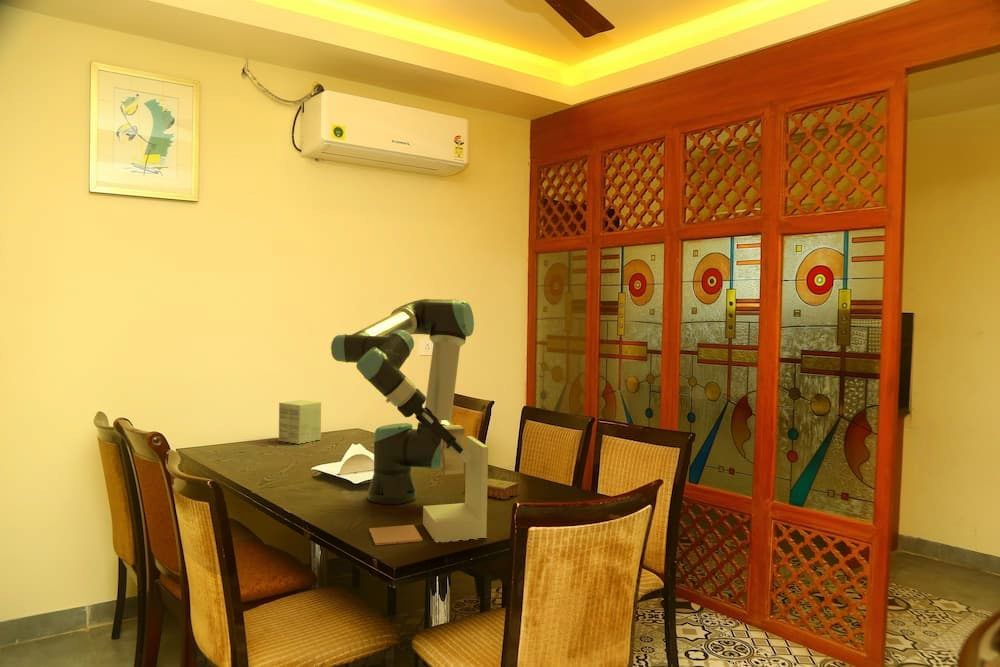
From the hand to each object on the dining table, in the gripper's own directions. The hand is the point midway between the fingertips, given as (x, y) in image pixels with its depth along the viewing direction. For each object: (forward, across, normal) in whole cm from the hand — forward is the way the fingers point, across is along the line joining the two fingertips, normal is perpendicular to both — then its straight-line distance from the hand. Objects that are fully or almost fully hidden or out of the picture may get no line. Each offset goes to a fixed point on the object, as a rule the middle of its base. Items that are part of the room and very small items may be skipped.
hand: (465, 456), depth 180 cm
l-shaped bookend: (+12, 0, -16) cm, 20 cm away
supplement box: (-13, -138, -42) cm, 145 cm away
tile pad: (+1, 0, -27) cm, 27 cm away
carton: (+28, -34, -2) cm, 44 cm away
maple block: (0, 0, -5) cm, 5 cm away
